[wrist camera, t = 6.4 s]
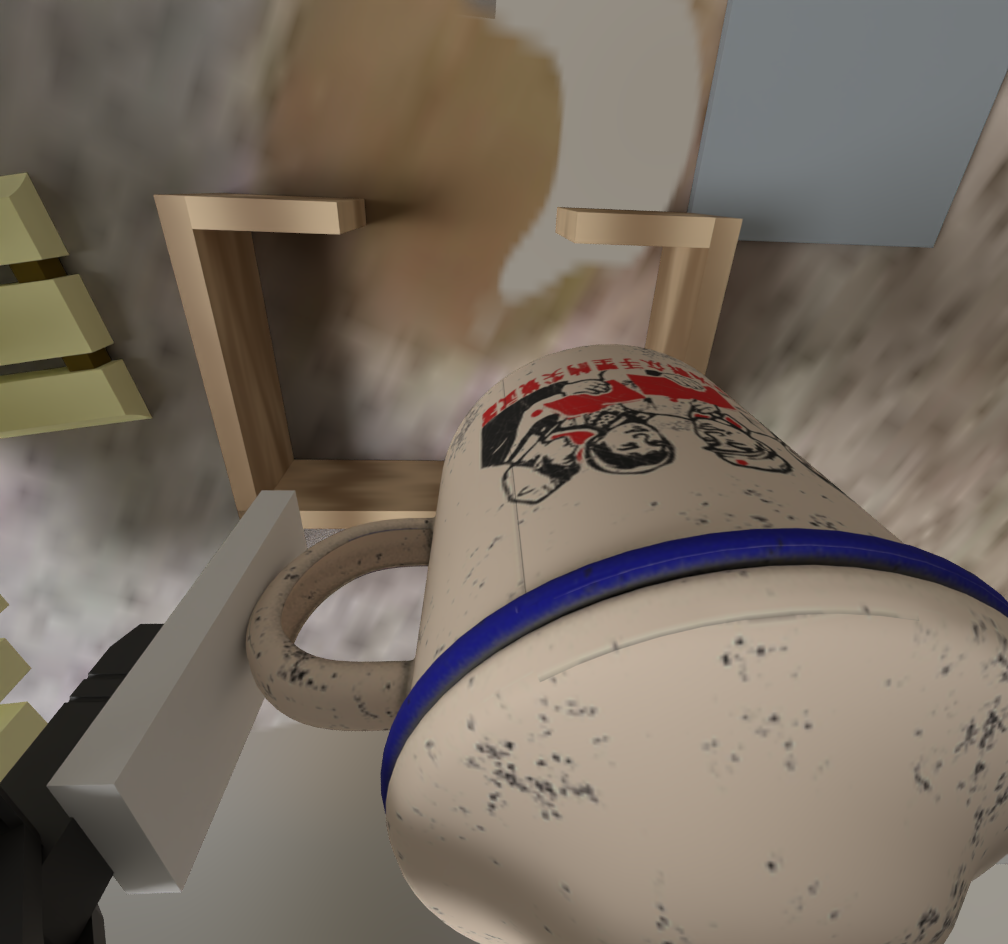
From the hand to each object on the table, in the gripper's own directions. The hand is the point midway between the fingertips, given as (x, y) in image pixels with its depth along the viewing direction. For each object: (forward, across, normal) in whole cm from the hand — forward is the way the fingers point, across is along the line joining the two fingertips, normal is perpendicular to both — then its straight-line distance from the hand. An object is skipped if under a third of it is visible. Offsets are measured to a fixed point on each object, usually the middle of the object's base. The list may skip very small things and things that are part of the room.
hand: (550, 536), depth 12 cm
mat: (+20, -16, -12) cm, 29 cm away
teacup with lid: (+3, 0, 0) cm, 3 cm away
